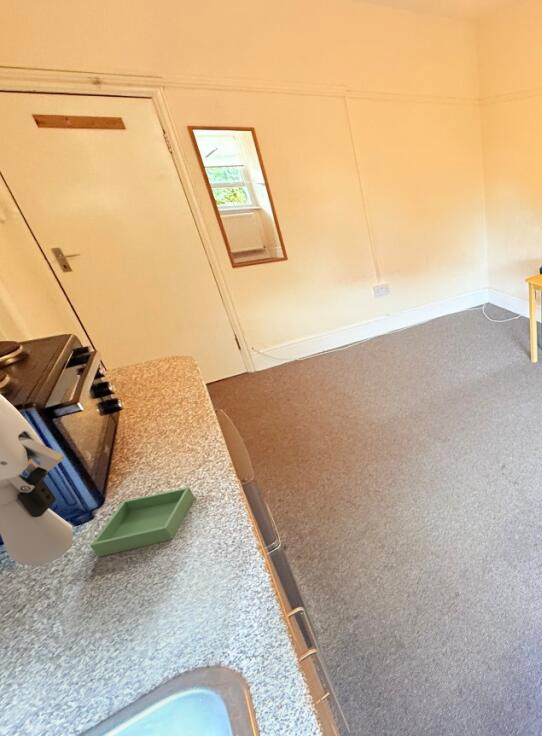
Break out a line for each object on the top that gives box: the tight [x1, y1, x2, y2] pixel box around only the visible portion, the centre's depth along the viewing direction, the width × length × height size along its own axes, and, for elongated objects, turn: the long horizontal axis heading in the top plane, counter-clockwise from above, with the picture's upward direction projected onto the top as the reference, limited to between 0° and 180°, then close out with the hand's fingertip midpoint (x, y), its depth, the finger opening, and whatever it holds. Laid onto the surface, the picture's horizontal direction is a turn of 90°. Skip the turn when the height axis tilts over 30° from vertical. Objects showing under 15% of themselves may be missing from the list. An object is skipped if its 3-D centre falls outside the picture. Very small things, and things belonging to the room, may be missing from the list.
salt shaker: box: [0, 480, 74, 567], centre depth 52 cm, size 6×6×13 cm
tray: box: [89, 486, 196, 558], centre depth 79 cm, size 12×11×3 cm
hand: (20, 512), depth 51 cm, fingers closed on salt shaker, 4 cm apart
